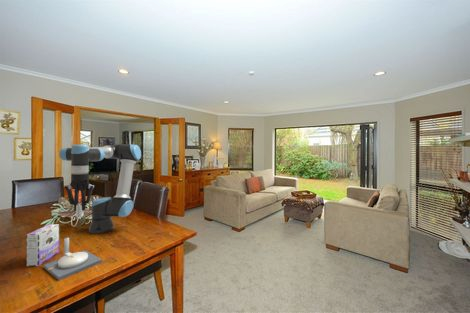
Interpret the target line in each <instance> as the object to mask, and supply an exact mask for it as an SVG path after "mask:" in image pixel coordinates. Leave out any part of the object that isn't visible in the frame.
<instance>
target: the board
mask: <svg viewBox="0 0 470 313" xmlns="http://www.w3.org/2000/svg"><path fill="white" fill-rule="evenodd" d="M80 252H86V253H88V260H87V261H86V262H85V263H83V264H81V265H79V266H76V267H72V268H59V267H58V260H59V259H56V260H52V261H51V262H50V261H49V262H48V263H47V262H46V263H45V264H43V268H44V269H45V271H46V272H48V273H49V274H51V275H52V276H53V277H54V278H55V279H56V280H58V281H61V280H63V279H66V278H68V277H70V276H73V275H75V274H78V273H80V272H83V271H84V270H86V269H87V270H88V269H89V268H91V267H94V266H96V265H98V264H101V263H102V261H103V259H102V258H100V257H99V256H96V255H95V254H93V253H91V252H89V251H88V250H85V249H84V250H82V251H80Z"/></svg>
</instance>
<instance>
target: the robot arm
mask: <svg viewBox="0 0 470 313" xmlns="http://www.w3.org/2000/svg"><path fill="white" fill-rule="evenodd" d="M58 156H59V158H60V159H61V160H62V161H67V162H71V163H70V164H71V170H70V171H71V174H70V176H71V177H70V179H71V182H70V183H69V184H68V185H66V186H64V189H65V190H66V194H67V197H68V202H69V205H73V210H74V212H75V213H76V214H75V217H76V218H82V217H83V216H84V211H85V210H86V208H87V207H86V205H87V204H89V203H90V202H91V198H92V193H93V190H94V188H95V185H94V184H93V185H92V184H90V182H89V178H90V176H89V175H90V174H89V172H90V163H89V162H91V163H92V162H100V161H102V160H104V158H105V159H115V160H119V161H120V162H121V164H120V169H119V170H120V172H119V175H118V176H119V178H118V181H117V188H116V193H115V195H114V196H113V197H111V196H107V197H106V196H105V197H100V198H96V199H95V198H94V200H92V202H91V221H90V224H89V228H88V233H90V234H92V235H97V234H105V233H108V232H111V231H112V230H114V228H115V227H114V222H113V220H112V217H119V218H122V217H128V216H129V215H130V214H131V213H132V211H133V208H134V202H133V200H132V197H131V196H130V193H131V186H132V181H133V175H134V174H133V173H134V168H135V165H136V163H137V162H138V161H139V160H140V159H141V158H142V150H141V148H140V146H139V145H137V144H127V143H125V144H123V143H121V144H120V143H119V144H118V143H116V144H109V145H108V144H107V145H106V144H105V145H104V146H94V147H90V146H89V145H87V144H72V145H71V147H63V148H61V149H60V150H59V153H58ZM87 188H88V191H87ZM72 189H73V190H74V192H73V190H72ZM86 191H87V193H86ZM73 193H74V194H73ZM86 194H87V195H86ZM80 196H81V198H80ZM79 198H80V199H81V204H80V203H79Z"/></svg>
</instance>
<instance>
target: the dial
mask: <svg viewBox="0 0 470 313" xmlns="http://www.w3.org/2000/svg"><path fill="white" fill-rule="evenodd" d="M63 240H64V242H63V247H64V248H63V249H64V250H63V255H64V256H62V257H60V258H59V259H57V260H58V267H59V268H72V267H76V266H79V265H81V264H83V263H85V262H86V261H87V260H88V253H86V252H81V251H77V252H73V253H72V252H71V251H70V237H65V238H64V239H63Z"/></svg>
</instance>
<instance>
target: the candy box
mask: <svg viewBox="0 0 470 313" xmlns="http://www.w3.org/2000/svg"><path fill="white" fill-rule="evenodd" d="M25 248H26V251H25V252H26V256H25V257H26V259H25V260H26V267H39V266H41V265H42V264H43V263H46V262H47V261H48V260H50V259H51V258H53V257H55V256H56V255H57V254H59V253H60V224H59V223H58V224H57V223H56V224H55V223H54V224H52V223H51V224H46V225H44V226H42V227H41V228H38V229H36V230H34V231H32V232H29V233H26V247H25Z"/></svg>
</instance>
